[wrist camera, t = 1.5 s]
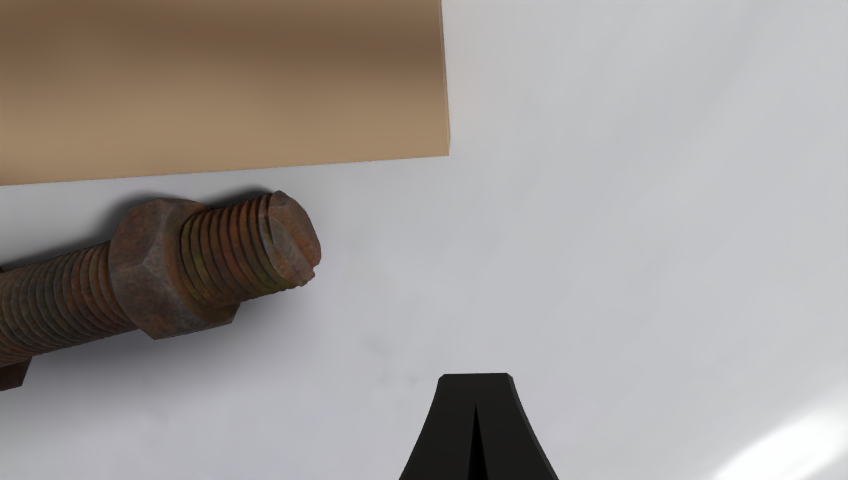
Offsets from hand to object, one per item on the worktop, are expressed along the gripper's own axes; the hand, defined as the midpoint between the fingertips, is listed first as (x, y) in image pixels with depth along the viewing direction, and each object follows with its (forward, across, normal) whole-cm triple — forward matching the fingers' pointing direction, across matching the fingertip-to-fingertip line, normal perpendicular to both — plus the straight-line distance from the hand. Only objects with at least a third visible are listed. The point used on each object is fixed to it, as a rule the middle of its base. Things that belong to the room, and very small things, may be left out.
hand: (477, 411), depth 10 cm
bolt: (+9, +13, +1) cm, 16 cm away
